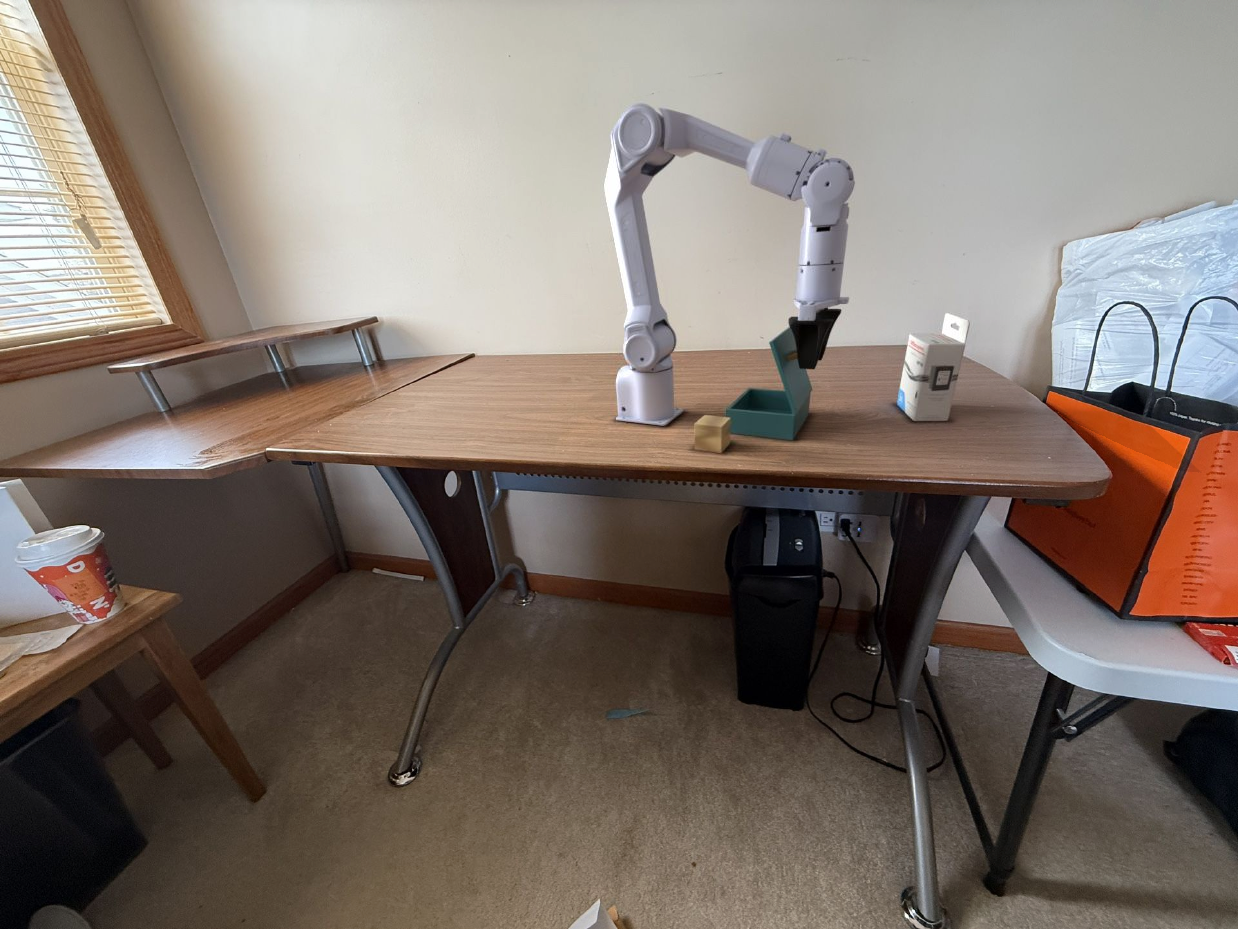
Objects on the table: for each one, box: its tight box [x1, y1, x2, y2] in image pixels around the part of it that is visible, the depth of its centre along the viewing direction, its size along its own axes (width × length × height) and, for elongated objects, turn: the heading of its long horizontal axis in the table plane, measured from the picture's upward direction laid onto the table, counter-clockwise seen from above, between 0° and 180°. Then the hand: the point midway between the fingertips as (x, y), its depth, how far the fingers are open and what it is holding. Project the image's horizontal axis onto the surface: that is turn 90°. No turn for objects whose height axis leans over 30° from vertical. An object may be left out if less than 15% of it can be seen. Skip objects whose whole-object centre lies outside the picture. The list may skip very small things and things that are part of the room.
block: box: [694, 414, 731, 454], centre depth 69 cm, size 4×4×4 cm
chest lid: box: [768, 326, 814, 414], centre depth 70 cm, size 11×12×5 cm
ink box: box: [896, 312, 971, 422], centre depth 73 cm, size 9×5×15 cm, turn 168°
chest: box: [724, 387, 812, 441], centre depth 76 cm, size 10×12×4 cm
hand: (810, 364), depth 70 cm, fingers closed on chest lid, 5 cm apart
